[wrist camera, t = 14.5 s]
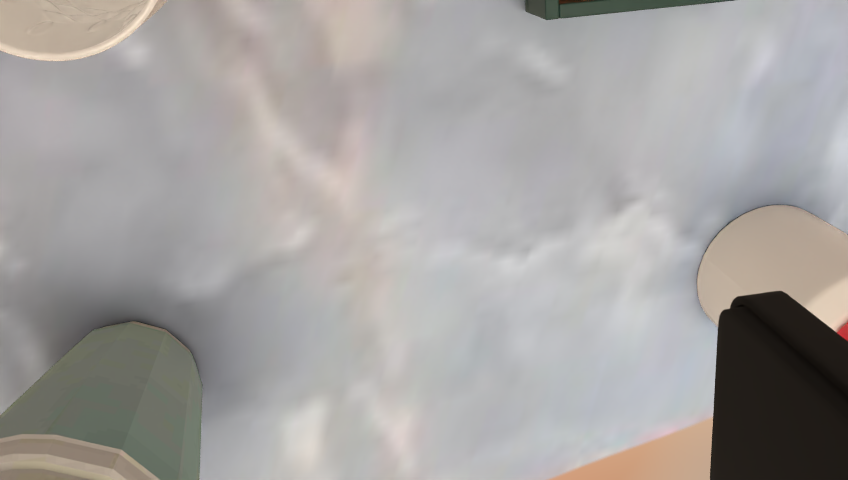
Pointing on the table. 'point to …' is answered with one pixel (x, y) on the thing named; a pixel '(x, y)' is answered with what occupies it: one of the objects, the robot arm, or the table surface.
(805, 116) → the table surface
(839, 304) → the pill bottle
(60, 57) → the white cup
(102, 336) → the disposable coffee cup
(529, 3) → the divided tray
